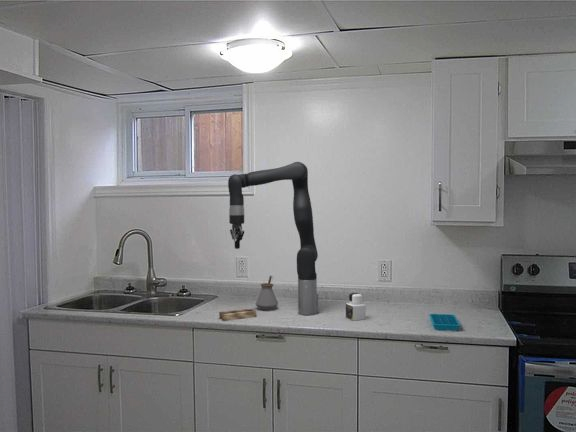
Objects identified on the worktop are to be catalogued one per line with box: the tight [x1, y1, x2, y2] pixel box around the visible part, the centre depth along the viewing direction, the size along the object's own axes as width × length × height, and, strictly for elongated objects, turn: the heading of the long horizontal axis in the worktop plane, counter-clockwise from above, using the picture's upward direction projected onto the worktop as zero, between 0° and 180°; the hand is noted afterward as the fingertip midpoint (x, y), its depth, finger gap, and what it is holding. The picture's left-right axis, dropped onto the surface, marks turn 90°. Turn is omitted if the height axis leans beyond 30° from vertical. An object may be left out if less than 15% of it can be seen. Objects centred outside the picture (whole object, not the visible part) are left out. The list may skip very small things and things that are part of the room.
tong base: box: [221, 308, 257, 322], centre depth 251 cm, size 18×3×3 cm, turn 119°
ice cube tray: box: [428, 313, 461, 332], centre depth 236 cm, size 12×20×3 cm, turn 170°
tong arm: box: [218, 308, 253, 320], centre depth 254 cm, size 17×2×3 cm, turn 114°
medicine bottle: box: [345, 292, 367, 322], centre depth 249 cm, size 7×7×12 cm
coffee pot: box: [255, 275, 279, 312], centre depth 275 cm, size 21×12×15 cm, turn 173°
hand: (237, 248), depth 264 cm, fingers closed
